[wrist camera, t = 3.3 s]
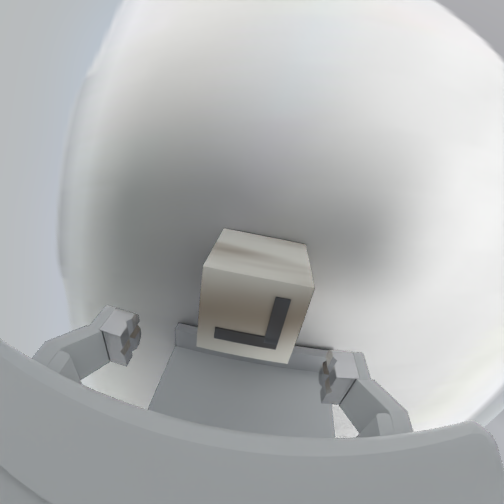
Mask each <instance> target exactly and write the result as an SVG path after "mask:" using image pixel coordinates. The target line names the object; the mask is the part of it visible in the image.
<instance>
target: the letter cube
mask: <svg viewBox="0 0 504 504" xmlns="http://www.w3.org/2000/svg"><path fill="white" fill-rule="evenodd" d="M314 289H315V286H314V281H313V276H312V271H311V266H310V262H309V257H308V253H307V248H306V244H301V243H297V242H292V241H287V240H282V239H277V238H272V237H267V236H261V235H256V234H251V233H246V232H241V231H236V230H230V229H225V228H224V229H223V231H222V232H221V234H220V236H219V238H218V240H217V241H216V243H215V245H214V247H213V249H212V250H211V252H210V254H209V256H208V258H207V260H206V261H205V263H204V265H203V270H202V281H201V292H200V303H199V316H198V329H197V344H196V347H200V348H205V349H209V350H214V351H218V352H223V353H228V354H233V355H238V356H243V357H248V358H254V359H260V360H266V361H272V362H278V363H285V364H288V361H289V359H290V356H291V354H292V351H293V348H294V346H295V343H296V340H297V338H298V335H299V332H300V329H301V327H302V324H303V321H304V318H305V315H306V313H307V310H308V307H309V304H310V301H311V298H312V295H313V292H314Z"/></svg>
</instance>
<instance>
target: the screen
mask: <svg viewBox="0 0 504 504" xmlns="http://www.w3.org/2000/svg"><path fill="white" fill-rule="evenodd" d="M197 329H198V327H194V326H190V325H186V324H182V323H178V325H177V327H176V329H175V342H176V346H175V348H174V350H173V353H172V355H171V357H170V359H169V362H168V364H167V366H166V368H165V371H164V373H163V375H162V377H161V380H160V382H159V384H158V387H157V389H156V391H155V394H154V396H153V398H152V401H151V403H150V405H149V408H148V410H150V411H154V412H157V413H160V414H164V415H167V416H171V417H175V418H178V419H182V420H186V421H191V422H195V423H199V424H204V425H209V426H214V427H219V428H224V429H230V430H236V431H243V432H250V433H257V434H266V435H276V436H288V437H305V438H335V432H334V422H333V413H332V404H324V403H321V398H320V390H321V388H322V386H321V385H320V384H319V370H320V367H321V365H322V363H323V362H325V361H326V354H327V352H328V351H329V350H321V349H314V348H306V347H299V346H294V348H293V351H292V354H291V356H290V359H289V361H288V364H285V363H278V362H272V361H266V360H260V359H254V358H248V357H243V356H238V355H233V354H228V353H223V352H218V351H214V350H209V349H205V348H200V347H196V344H197Z"/></svg>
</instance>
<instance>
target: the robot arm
mask: <svg viewBox="0 0 504 504" xmlns="http://www.w3.org/2000/svg"><path fill="white" fill-rule="evenodd" d="M138 323H139V315H138V314H136V313H133V312H129V311H126V310H123V309H120V308H116V307H113V306H110V305H107V306H105V307H104V308H103V310H102V311H101V312H100V313H99V315H98V316H97V317H96V318H95V319H94V321H93V322H92V323H91V324H90V326H84V327H81V328H79V329H76V330H74V331H71V332H69V333H66V334H64V335H61V336H58V337H56V338H53V339H51V340H48V341H46V342H45V343H44V344H43V345H42V346H41V347H40V349H39V350H38V351H37V352H36V354H35V355H34V356H33V357H32V358H30V357H28V356H27V355H25V354H23V353H22V352H20V351H18V350H17V349H15V348H14V347H12V346H10V345H9V344H7V343H6V342H4V341H3V340H2V339H0V504H504V468H503V464H502V460H501V456H500V453H499V449H498V446H497V443H496V441H495V439H494V437H493V435H491V433H490V432H488V431H487V430H486V429H485V428H484V427H483V426H481V425H480V424H479V423H477V422H476V421H473V420H470V421H465V422H461V423H457V424H453V425H449V426H444V427H440V428H435V429H429V430H424V431H417V432H413V429H412V425H411V422H410V419H409V415H408V412H407V410H406V409H405V408H404V407H402V406H401V405H400V404H399V403H398V402H397V401H396V400H395V399H394V398H393V397H392V396H391V395H390V394H389V393H388V392H386V391H385V390H384V389H383V388H382V387H381V386H380V385H379V384H378V383H377V382H376V381H375V380H371V378H370V374H369V371H368V368H367V364H366V361H365V358H364V354H363V353H362V352H352V351H351V352H350V351H338V350H329V351H328V352H327V354H326V361H325V362H323V363H322V365H321V367H320V370H319V384H320V385H321V386H322V388H321V390H320V398H321V403H324V404H339V406H340V407H341V409H342V410H343V411H344V413H345V414H346V416H347V417H348V418H349V420H350V421H351V422H352V424H353V425H354V426H355V428H356V429H357V430H358V432H359V433H360V434H359V435H358V436H357V437H356V438H305V437H288V436H276V435H266V434H257V433H250V432H243V431H236V430H230V429H224V428H219V427H214V426H209V425H204V424H199V423H195V422H191V421H186V420H182V419H178V418H175V417H171V416H167V415H164V414H160V413H157V412H154V411H150V410H147V409H144V408H141V407H138V406H135V405H132V404H129V403H126V402H124V401H121V400H118V399H115V398H113V397H110V396H108V395H105V394H103V393H100V392H98V391H96V390H93V389H91V388H89V387H86V386H84V385H82V382H81V379H83V378H85V377H86V376H88V375H90V374H91V373H93V372H94V371H96V370H98V369H99V368H101V367H102V366H104V365H106V364H107V363H109V362H110V361H112V362H115V363H118V364H121V365H124V366H127V365H128V363H129V361H130V359H131V358H132V356H133V355H132V351H133V350H135V349H137V347H138V345H139V342H140V338H141V329H140V328H139V326H138V325H137V324H138Z"/></svg>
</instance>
